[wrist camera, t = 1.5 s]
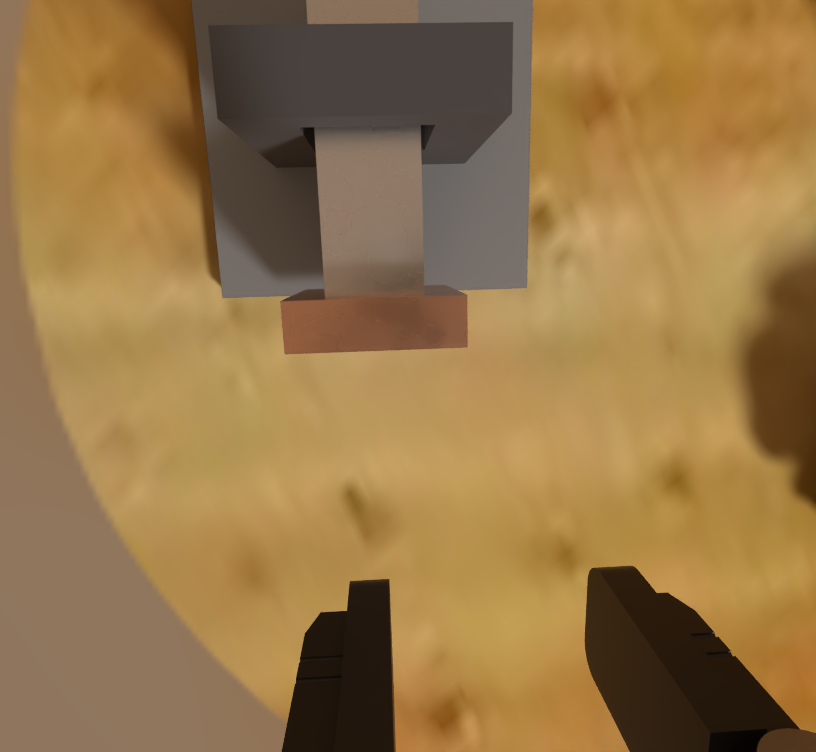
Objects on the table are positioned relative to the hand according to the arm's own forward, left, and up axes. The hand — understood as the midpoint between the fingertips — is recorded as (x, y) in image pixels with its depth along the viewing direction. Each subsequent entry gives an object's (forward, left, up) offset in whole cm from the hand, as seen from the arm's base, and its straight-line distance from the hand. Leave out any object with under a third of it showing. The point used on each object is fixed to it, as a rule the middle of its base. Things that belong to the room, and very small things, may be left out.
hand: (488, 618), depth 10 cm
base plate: (+2, -13, -23) cm, 27 cm away
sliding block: (+2, -10, -19) cm, 21 cm away
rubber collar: (+2, -13, -22) cm, 25 cm away
